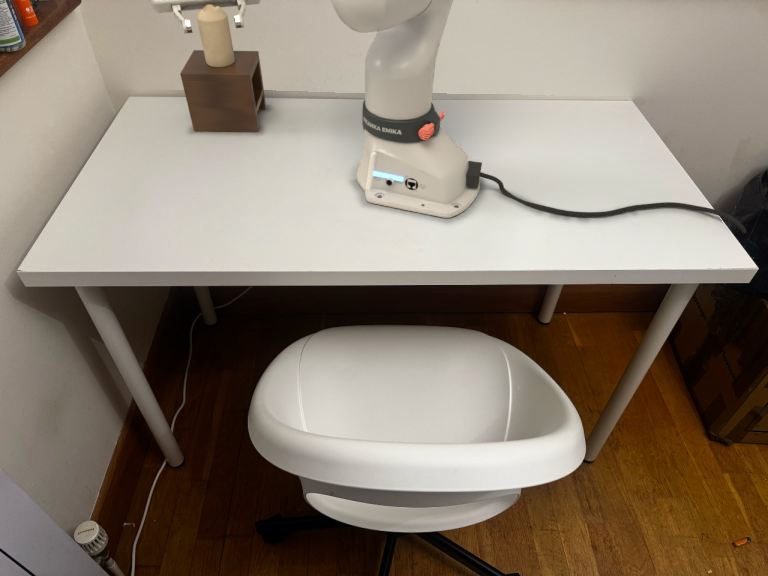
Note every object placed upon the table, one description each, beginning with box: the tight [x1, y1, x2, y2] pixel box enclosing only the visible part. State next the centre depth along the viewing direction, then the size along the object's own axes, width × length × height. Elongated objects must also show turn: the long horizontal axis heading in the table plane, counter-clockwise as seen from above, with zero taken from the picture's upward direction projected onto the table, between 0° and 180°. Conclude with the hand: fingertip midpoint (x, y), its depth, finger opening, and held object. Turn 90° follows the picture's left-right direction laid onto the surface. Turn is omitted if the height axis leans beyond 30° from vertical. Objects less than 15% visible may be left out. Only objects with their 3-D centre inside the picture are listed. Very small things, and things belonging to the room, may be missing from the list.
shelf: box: [179, 49, 267, 133], centre depth 114 cm, size 13×11×12 cm
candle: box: [196, 4, 235, 67], centre depth 106 cm, size 6×6×10 cm
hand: (214, 29), depth 105 cm, fingers open, 8 cm apart
